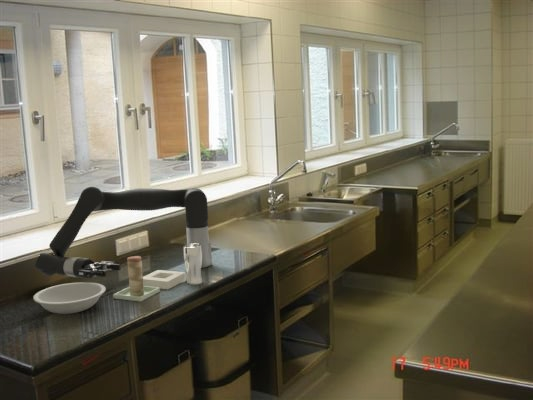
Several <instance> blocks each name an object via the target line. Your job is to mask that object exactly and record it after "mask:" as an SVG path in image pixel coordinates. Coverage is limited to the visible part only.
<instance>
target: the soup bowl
mask: <svg viewBox="0 0 533 400" xmlns="http://www.w3.org/2000/svg"><path fill="white" fill-rule="evenodd" d="M106 290H107V287H106V286H105V285H103V284H101V283H99V282H91V281H90V282H89V281H85V282H83V281H80V282H77V281H76V282H68V283H61V284H57V285H53V286H49V287H46V288H45V289H42V290H39V291H37V292H36V293H35V294H34V295H33V296H32V297H33V299H32V300H33V301H34V302H36V303H38V304H40V306H41V307H43V308H44V309H45V310H46V311H48V312H50V313H53V314H59V315H67V314H68V315H69V314H76V313H80V312H83V311H86V310H88V309H90V308H91V307H93V306H94V305H95V304H96V303H97V302H98V301H99V300H100V298H101V296H102V295H103V294H104V293H105V292H106Z"/></svg>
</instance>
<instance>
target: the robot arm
mask: <svg viewBox="0 0 533 400" xmlns="http://www.w3.org/2000/svg"><path fill="white" fill-rule="evenodd" d="M167 208H185V230H186V243H187V244H193V243H197V244H200V245H201V251H202V265H201V269H203V268H207V267H209V266H212V265H213V260H212V259H213V257H212V256H213V255H212V243H211V242H210V240H209V223H208V222H209V209H208V208H209V207H208V197H207V195H206V194H205V192H204V191H203V190H201V189H200V188H197V187H191V188H183V189H164V188H146V187H145V188H140V187H139V188H131V189H125V190H120V191H104V190H103V191H102V190H101V189H100V188H98V187H97V186H87V187H86V188H84V189H83V190H82V191H81V193H80V196H79V198H78V200H77V202H76V204H75V206H74V207H73V209H72V211H71V213H70V214H69V216H68V217H67V219H66V221H65V222H64V223H63V225H62V226H61V228H59V230H58V231H57V233H56V234H55V236H54V237H53V238H52V240H51V241H50V243H49V249H50V250H51V252H52V251H53V252H54V254H55V255H53V254H52V253H48V252H41V253H39V254H40V256H39V257H38V259H37V261H36V264H35V267H36V271H38V270H39V271H38V272H40V273H42V274H43V273H44V274H43V275H45V276H47V277H51V276H54V275H56V274H57V275H60V276H68V277H71V278H79V279H80V278H81V279H92V278H93V277H94V278H95V277H102V278H105V277H106V276H107V272H108V271H121V269H122V268H121V264H119V263H118V264H117V263H115V261H110V260H109V261H106V260H101V261H100V262H98V261H97V262H94V261H93V260H92V259H91V258H87V257H78V256H77V257H73V256H72V257H69V256H68V257H66V253H67V252H68V249H70V247H71V246H72V244H73V243H74V241H75V239H76V238H77V236H78V234H79V232H80V230H81V228H82V226H83V225H84V223H85V222H86V220H87V218H88V217H89V216H90V215H91V214H92V213H93V212H102V211H108V210H109V211H110V210H111V211H112V210H120V211H121V210H123V211H142V212H143V211H144V212H145V211H158V210H162V209H167ZM35 267H34V268H35Z"/></svg>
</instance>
